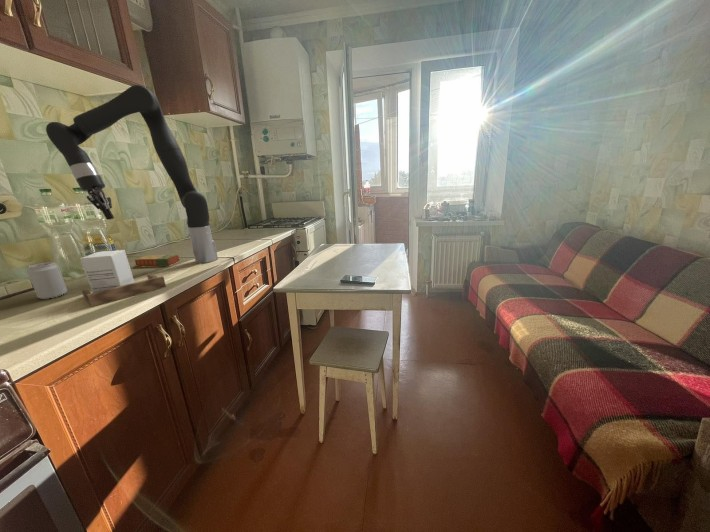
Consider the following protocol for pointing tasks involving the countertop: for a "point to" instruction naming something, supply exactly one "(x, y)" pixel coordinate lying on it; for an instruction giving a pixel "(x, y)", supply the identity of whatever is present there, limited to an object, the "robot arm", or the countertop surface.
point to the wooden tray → (124, 290)
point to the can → (47, 280)
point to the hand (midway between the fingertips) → (110, 219)
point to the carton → (156, 260)
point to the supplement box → (107, 270)
